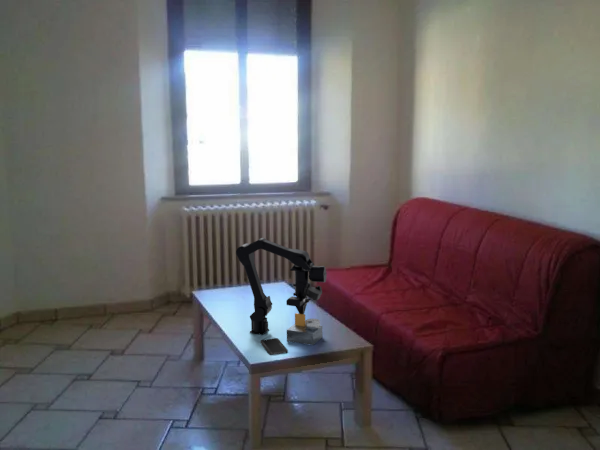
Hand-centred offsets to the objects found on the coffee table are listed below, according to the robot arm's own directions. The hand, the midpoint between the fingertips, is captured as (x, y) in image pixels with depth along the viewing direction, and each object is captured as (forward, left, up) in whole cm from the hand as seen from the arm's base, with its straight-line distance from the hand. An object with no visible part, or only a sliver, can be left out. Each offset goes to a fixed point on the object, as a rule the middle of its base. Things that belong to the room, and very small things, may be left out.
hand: (302, 316), depth 251 cm
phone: (-5, -17, -9) cm, 20 cm away
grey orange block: (0, -2, -4) cm, 4 cm away
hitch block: (+3, -4, -8) cm, 10 cm away
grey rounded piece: (+6, -3, -8) cm, 10 cm away
